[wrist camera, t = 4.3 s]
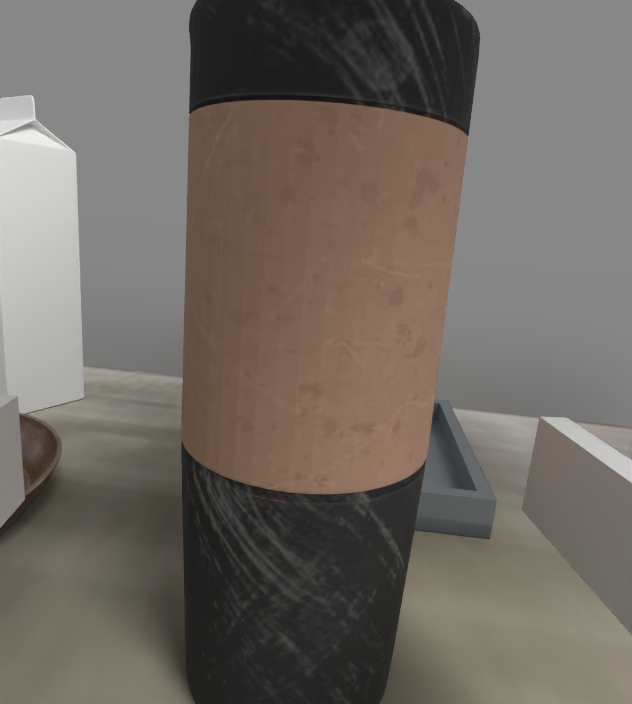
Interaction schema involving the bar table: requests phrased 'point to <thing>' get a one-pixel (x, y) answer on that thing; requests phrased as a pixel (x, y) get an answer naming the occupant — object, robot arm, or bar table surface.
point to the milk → (38, 263)
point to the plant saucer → (35, 460)
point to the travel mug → (313, 330)
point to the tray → (453, 482)
